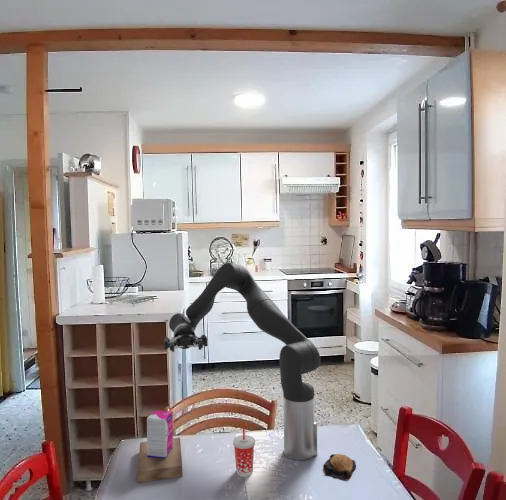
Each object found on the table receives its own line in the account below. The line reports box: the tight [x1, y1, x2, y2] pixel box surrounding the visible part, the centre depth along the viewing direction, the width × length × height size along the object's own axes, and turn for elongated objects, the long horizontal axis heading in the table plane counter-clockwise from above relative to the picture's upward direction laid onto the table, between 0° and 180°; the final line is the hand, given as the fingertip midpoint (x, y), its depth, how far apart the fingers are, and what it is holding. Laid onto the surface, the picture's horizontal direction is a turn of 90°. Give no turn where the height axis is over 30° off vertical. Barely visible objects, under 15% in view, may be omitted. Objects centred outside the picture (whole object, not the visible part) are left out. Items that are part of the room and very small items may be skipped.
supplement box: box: [146, 409, 174, 459], centre depth 121 cm, size 6×6×12 cm
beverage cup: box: [232, 422, 256, 478], centre depth 115 cm, size 6×6×14 cm
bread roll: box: [322, 453, 357, 481], centre depth 117 cm, size 11×8×4 cm
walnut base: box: [136, 437, 183, 483], centre depth 121 cm, size 12×16×3 cm
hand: (186, 347), depth 133 cm, fingers open, 8 cm apart
